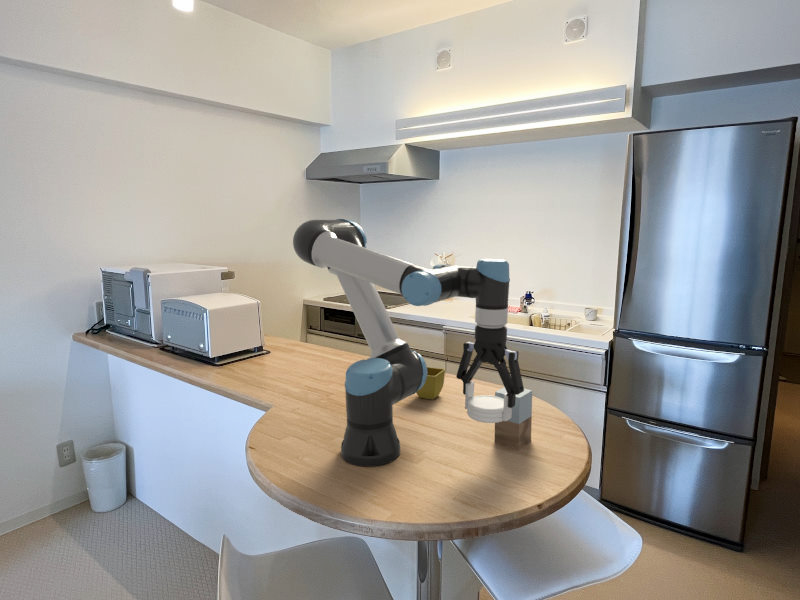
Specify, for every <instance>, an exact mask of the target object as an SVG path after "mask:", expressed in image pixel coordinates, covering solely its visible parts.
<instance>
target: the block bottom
mask: <svg viewBox="0 0 800 600" xmlns="http://www.w3.org/2000/svg"><path fill="white" fill-rule="evenodd" d="M532 417H533V415H532V416H530V417H529V418H527V419H526V420H525V421H523V422H522V423H520V424H517V423H513V422H510V421H502V422H498V423H494V443H496V444H499V445H503V446H505V447H508V448H512V449H514V450H518V451H519V450H521V449H522V448H523V447H524V446H526V445H528V443H529V442H531V441H532V419H533V418H532Z"/></svg>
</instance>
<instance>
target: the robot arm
mask: <svg viewBox="0 0 800 600" xmlns="http://www.w3.org/2000/svg"><path fill="white" fill-rule="evenodd" d="M292 237H293V238H292V246H293V249H294V252H295V254H296V255H297V256H298V257H299V259H301V260H302V261H303V262H305V263H307V264H310V265H312V266H314V267H317V268H321V269H324V268H327V270H328V272H329V273H330V274H331V275H335V276H336V277H337V279H338V281H339V283H340V286H341V287H342V290H343V291H344V292H343V293H344V294H345V296H346V299H347V301H348V303H349V306H350V307H351V310H352V312H353V314H354V316H355V319H356V321H357V323H358V325H359V328H360V329H361V332H362V334H363V336H364V338H365V340H366V342H367V345H368V347H369V350H370V352H371V354H370V356H369V358H367V359H360V360H357V361H355V362H353V363H352V364H351V365H350V366H348V368H347V369H346V371H345V381H344V389H345V405H346V407H345V408H346V426H345V431H344V435H343V440H342V441H341V445H340V455H341V458H342V459H343V460H344V461H345V462H347V463H348V464H350V465H354V466H358V467H377V466H382V465H386V464H390V463H392V462H393V461H395V460H396V459H397V458H399V456H400V454H401V442H400V439H399V438H398V435H397V431H396V427H395V425H394V420H393V419H394V418H393V415H394V413H393V409H394V407H393V406H394V405H395V404H397V403H399V402H401V401H402V400H404V399H406V398H408V397H410V396H413V395H416V394H417V393H416V392H417V391H418V390H419V389H421V388H422V387H423V385H424V384H425V381H426V378H427V367H428V365H427V363H426V361H425V359H424V357H423V356H422V355H421V354H420V353H418V352H417V351H415V350H412V349H411V347H410V345H409V342H407V341H406V340H402V339H401V338H400V337H399V335H398V332H397V331H396V328H395V326H394V323H393V322H392V320H391V318H390V315H389V313H388V311H387V308H386V307H385V305H384V303H383V300H382V298H381V296H380V294H379V292H378V290H377V287H376V286H378V287H381V288H383V289H385V290H389V291H392V292H393V293H397V294H399V295H402V296H403V298H404V299H405V300H406V302H407V303H408V304H409V305H412V306H415V307H421V306H423V307H425V306H426V307H427V306H429V305H432V304H434V303H438V302H440V301H444V300H448V299H450V298H455V297H456V298H457V297H459V298H470V299H475V311H474V312H475V313H474V315H475V316H474V319H475V321H474V322H475V323H476V324H475V326H474V340H475V342H473V341H471V340H469V341H467V342H464V343H463V352H462V356H461V359H460V362H459V366H458V369H457V372H456V375H455V376H456V379H458V380H461V381H462V384H463V385H462V394H463V395H464V397H465V398H464V399H465V402H464V408H465V410H466V411H467V410H468V409H467V406H468V405H467V402H468V400H469V399H470V398H472V397H474V396H475V381H473V380H474V376H475V374H476V373H477V372H478V370H479V368H480V367H481V365H482V364H483V363H484V364H485V363H488V364H490V365H493V367H494V369H496V371H497V372H498V376H499V377H500V379H501V382H502V384H503V386H504V387H505V389H506V391H507V393H506V394H504V408H503V421H507V420H509V419H511V416H512V408H513V407H514V406H515V399H516V395H518V394H520V393H522V392H523V391H524V389H525V387H524V383H523V379H522V373H521V369H520V365H519V351H518V350H510V349H508V348H507V339H508V336H507V335H508V327H507V324H508V316H509V315H508V314H509V294H510V291H509V290H510V282H511V279H510V264H509V262H508V260H505V259H499V258H482V259H481V258H480V259H478V260H477V263H476V266H466V265H465V266H464V265H454V264H453V265H452V264H450V263H449V264H447V263H446V264H436V265H434V266H433V267H432V268H431V269H429V268H426V267H422V266H420V265H416V264H414V263H411V262H408V261H404V260H402V259H399V258H397V257H393V256H390V255H388V254H385V253H381V252H379V251H375V250H373V249H370V248H367V244H368V243H367V242H368V241H367V236H366V233H365V231H364V229H363V228H362V226H361V225H359V224H358V223H357V222H355V221H354V220H350V219H349V220H348V219H343V218H337V219H310V220H307V221H305V222H303V223H302V224H301V225H299V226H298V227H297V228H296V230H295V232H294V234H293V236H292ZM473 351H475V353H476V355H475V356H474V358H473V361H472V364H471V365H470V362H471V359H472V356H473ZM505 356H506V359H507V361H506V359H505ZM507 362H508V366H507ZM508 368H509V369H508ZM504 387H503V388H504Z"/></svg>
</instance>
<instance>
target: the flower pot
mask: <svg viewBox="0 0 800 600" xmlns="http://www.w3.org/2000/svg"><path fill="white" fill-rule="evenodd" d="M445 375H446V369H445V368H437V367H431V366H427V378H426V381H425V384H424V385H423V387H422V388H421V389H419V390H418V391H417V392H416V393H415V394H416V395H417V396H418V397H419V398H420V399H427V400H435V399H436V398H437V397H439V396H440V393H441V392H442V389H443V387H444V383H445Z"/></svg>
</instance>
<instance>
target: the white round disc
mask: <svg viewBox="0 0 800 600" xmlns="http://www.w3.org/2000/svg"><path fill="white" fill-rule="evenodd" d="M467 405H468V406H467V409H468V410H467V409H466V413H467V414H466V415H467V416H468V417H469V418H470V419H472V420H474V421H476V422H479V423H485V424H495V423H498V422H502V421H503V408H504V399H502V398H500V397H497V396H495V395H489V394H481V395H480V394H479V395H474V397H472V398H470V399H469V400H468V402H467Z"/></svg>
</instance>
